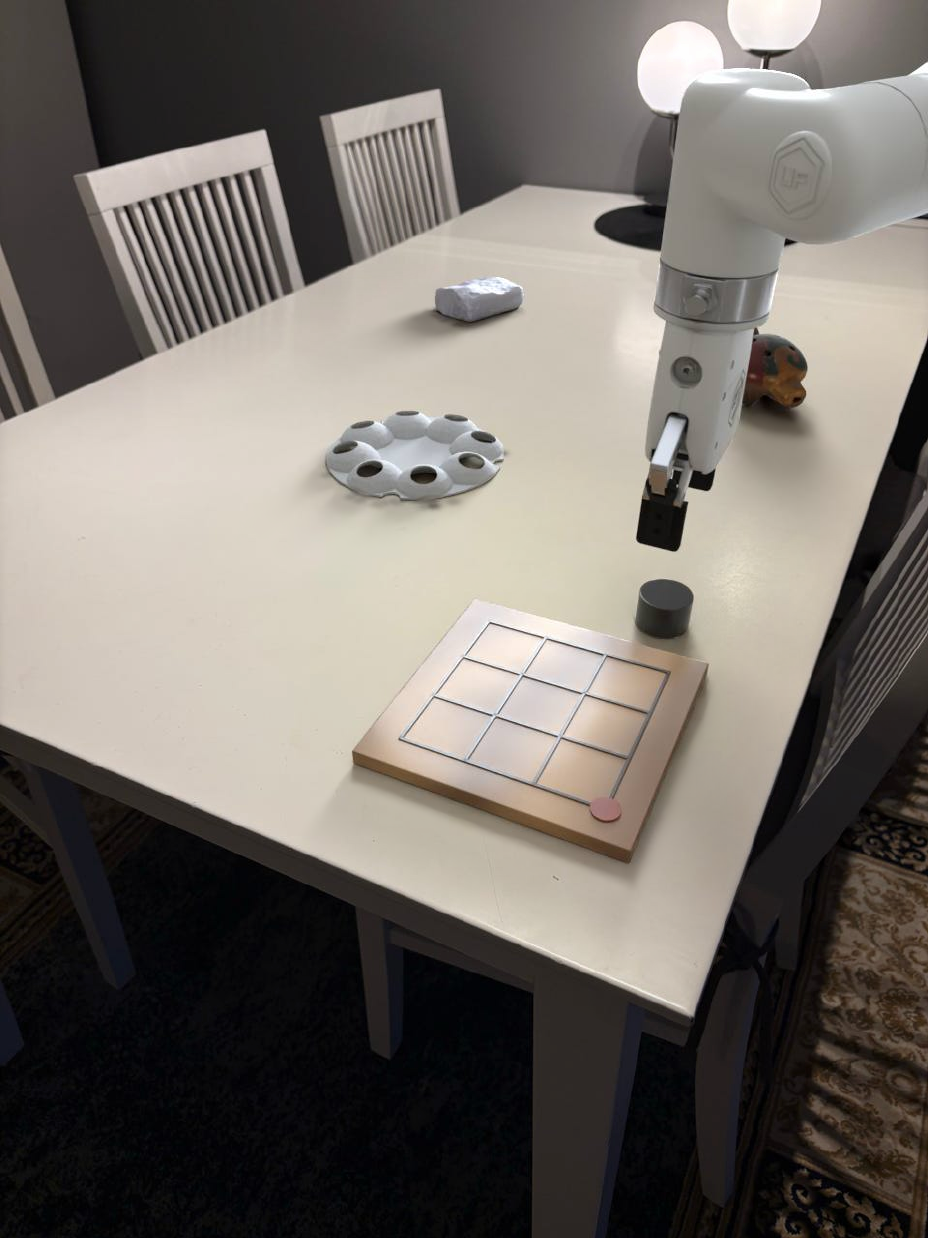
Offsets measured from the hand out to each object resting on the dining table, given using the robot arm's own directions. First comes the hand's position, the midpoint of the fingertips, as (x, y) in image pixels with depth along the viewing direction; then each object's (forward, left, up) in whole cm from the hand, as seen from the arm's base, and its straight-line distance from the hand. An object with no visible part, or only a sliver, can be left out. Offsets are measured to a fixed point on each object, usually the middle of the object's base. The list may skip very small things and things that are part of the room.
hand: (675, 514), depth 70 cm
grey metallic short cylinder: (0, 0, -10) cm, 10 cm away
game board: (+5, +15, -10) cm, 19 cm away
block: (+48, -66, -11) cm, 82 cm away
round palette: (+33, -18, -11) cm, 39 cm away
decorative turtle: (+2, -50, -11) cm, 51 cm away
